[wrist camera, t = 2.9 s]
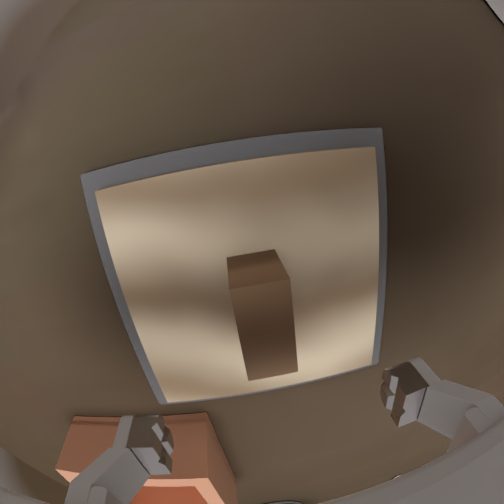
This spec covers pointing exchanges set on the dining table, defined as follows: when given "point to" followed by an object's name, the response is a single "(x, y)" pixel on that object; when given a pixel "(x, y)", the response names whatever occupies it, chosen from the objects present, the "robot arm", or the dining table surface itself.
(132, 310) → the lid
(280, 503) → the canned tomato
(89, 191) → the mat
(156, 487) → the rectangular open box
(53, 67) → the dining table surface
